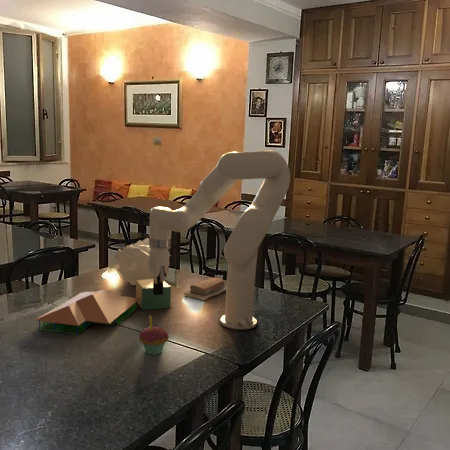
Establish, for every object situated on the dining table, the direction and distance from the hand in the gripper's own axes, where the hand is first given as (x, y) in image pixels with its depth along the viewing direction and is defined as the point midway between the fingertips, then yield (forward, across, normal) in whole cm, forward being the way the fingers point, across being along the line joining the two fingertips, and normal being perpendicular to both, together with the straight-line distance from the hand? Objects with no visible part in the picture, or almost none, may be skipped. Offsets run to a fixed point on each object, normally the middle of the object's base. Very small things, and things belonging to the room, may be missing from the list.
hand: (157, 294), depth 176 cm
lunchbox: (+7, -11, +1) cm, 13 cm away
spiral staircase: (+8, -42, +4) cm, 42 cm away
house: (+8, -2, -22) cm, 23 cm away
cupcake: (+7, +30, -8) cm, 32 cm away
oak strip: (+7, -17, 0) cm, 19 cm away
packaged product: (+7, -19, +25) cm, 32 cm away
